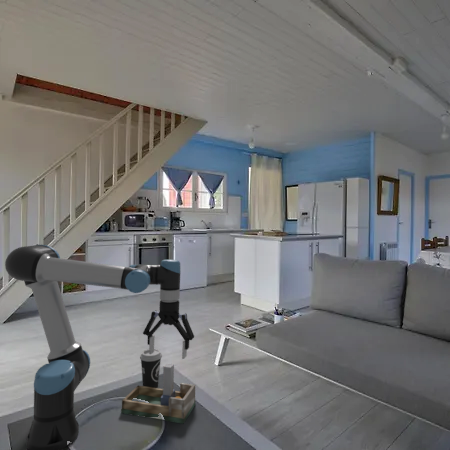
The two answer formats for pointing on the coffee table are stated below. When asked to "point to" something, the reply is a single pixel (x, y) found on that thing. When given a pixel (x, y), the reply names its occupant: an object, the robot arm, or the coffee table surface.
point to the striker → (168, 384)
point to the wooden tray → (172, 413)
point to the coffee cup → (150, 367)
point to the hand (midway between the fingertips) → (167, 355)
